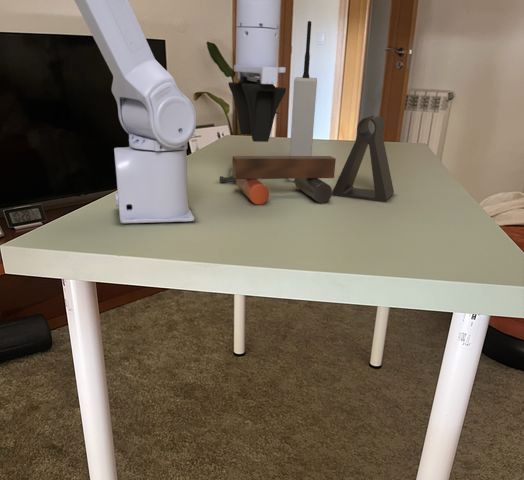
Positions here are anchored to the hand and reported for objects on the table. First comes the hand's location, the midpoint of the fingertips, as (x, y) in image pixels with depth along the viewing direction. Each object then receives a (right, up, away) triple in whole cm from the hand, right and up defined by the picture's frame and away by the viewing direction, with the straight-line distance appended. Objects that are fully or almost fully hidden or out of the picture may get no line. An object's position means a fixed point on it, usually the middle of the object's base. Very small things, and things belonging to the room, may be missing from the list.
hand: (253, 137), depth 80 cm
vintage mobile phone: (+8, 0, +22) cm, 23 cm away
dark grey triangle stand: (+18, -5, +12) cm, 22 cm away
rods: (+4, -6, +9) cm, 12 cm away
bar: (+5, -3, +7) cm, 9 cm away
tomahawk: (-3, +3, +25) cm, 25 cm away
